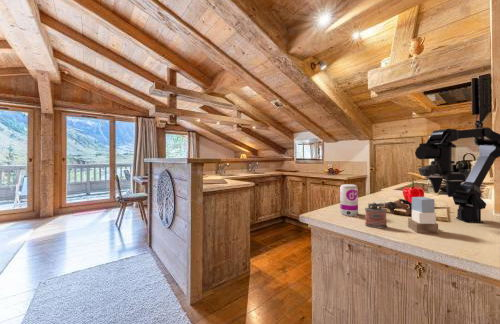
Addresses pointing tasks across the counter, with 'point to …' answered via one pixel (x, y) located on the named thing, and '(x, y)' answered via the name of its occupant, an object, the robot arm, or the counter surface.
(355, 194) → the supplement can
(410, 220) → the walnut base block
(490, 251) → the counter surface
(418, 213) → the cream middle block
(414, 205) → the slate block
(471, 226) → the counter surface
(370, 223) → the lighter
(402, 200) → the dark brown irregular piece
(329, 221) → the counter surface
